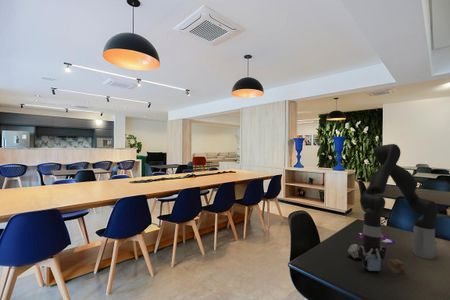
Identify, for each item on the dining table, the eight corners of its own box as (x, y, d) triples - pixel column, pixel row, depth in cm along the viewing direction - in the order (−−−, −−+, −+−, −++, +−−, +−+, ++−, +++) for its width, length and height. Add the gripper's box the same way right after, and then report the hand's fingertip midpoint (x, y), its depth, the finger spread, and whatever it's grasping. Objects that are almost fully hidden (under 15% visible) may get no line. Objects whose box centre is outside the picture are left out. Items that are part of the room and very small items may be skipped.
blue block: (372, 264, 114) (372, 255, 114) (380, 270, 108) (380, 260, 108) (362, 264, 114) (362, 255, 114) (369, 270, 108) (369, 260, 108)
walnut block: (396, 268, 114) (396, 258, 114) (403, 273, 109) (404, 263, 109) (388, 268, 114) (388, 258, 114) (395, 273, 109) (395, 263, 109)
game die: (358, 265, 123) (369, 256, 117) (343, 258, 124) (353, 249, 118) (357, 252, 130) (366, 243, 124) (342, 245, 131) (351, 236, 125)
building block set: (385, 248, 139) (385, 241, 139) (352, 236, 156) (352, 230, 156) (401, 240, 152) (401, 233, 152) (369, 230, 169) (369, 224, 169)
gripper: (380, 231, 115) (379, 262, 115) (353, 230, 115) (352, 262, 115) (391, 236, 107) (390, 270, 108) (362, 236, 107) (362, 270, 107)
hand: (371, 266), depth 111 cm, fingers closed on blue block, 5 cm apart
